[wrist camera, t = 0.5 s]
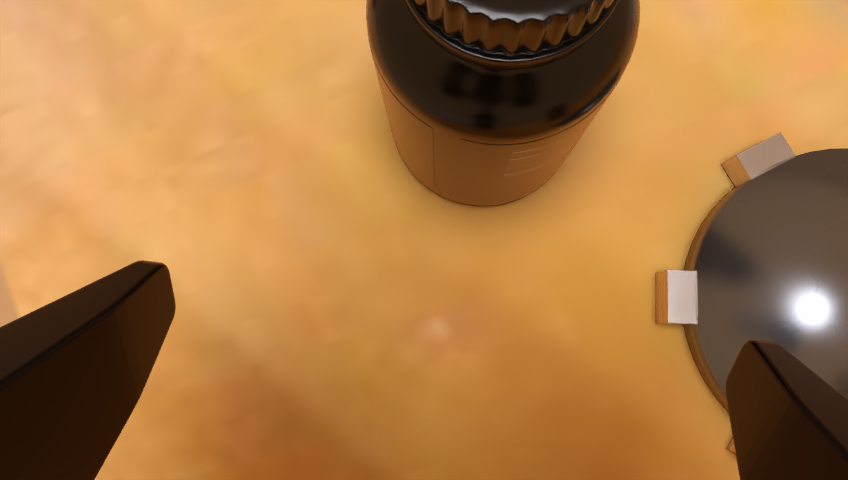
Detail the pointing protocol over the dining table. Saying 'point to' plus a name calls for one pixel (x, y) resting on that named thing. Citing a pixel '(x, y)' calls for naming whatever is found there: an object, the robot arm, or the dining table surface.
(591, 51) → the supplement bottle
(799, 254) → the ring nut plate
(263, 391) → the dining table surface
